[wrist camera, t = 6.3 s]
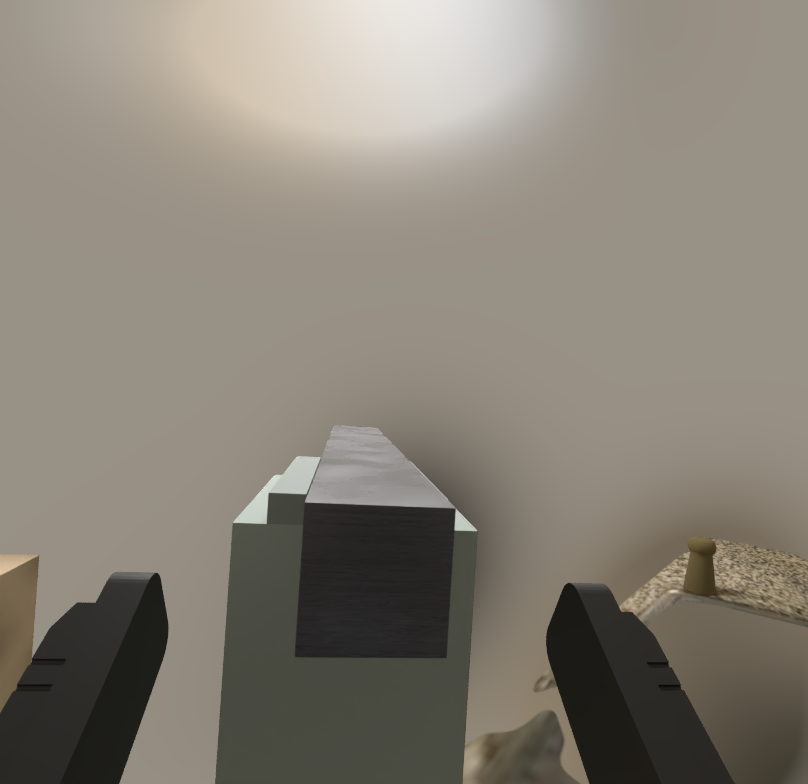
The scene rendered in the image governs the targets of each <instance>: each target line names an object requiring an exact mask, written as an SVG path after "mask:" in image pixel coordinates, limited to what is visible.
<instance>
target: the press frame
mask: <svg viewBox="0 0 808 784" xmlns="http://www.w3.org/2000/svg"><path fill="white" fill-rule="evenodd" d="M320 461H321V458H320V457H299V456H297V457H296V459H295V460H294V461H293V462H292V464H291V465H290V466H289V467H288V469H287V470H286V471H285V472H284V474H283V475H275V476H274V477H273V478H272V479H271V480H270V481H269V482H268V483H267V485H266V486H265V487H264V488H263V489H262V490H261V491H260V493H259V494H258V495H257V496H256V497H255V498H254V499H253V501H252V502H251V503H250V504H249V505H248V506H247V507H246V508H245V509H244V511H243V512H242V513H241V514H240V515H239V516H238V517H237V519H236V520H235V521H234V522H233V529H232V543H231V557H230V572H229V587H228V602H227V616H226V631H225V646H224V662H223V676H222V691H221V706H220V720H219V736H218V750H217V764H216V779H215V784H462V781H463V765H464V748H465V732H466V715H467V699H468V683H469V665H470V650H471V633H472V617H473V601H474V583H475V568H476V552H477V535H478V534H477V533H478V531H477V530H476V529H475V528H474V527H473V526H472V525H471V524H470V523H469V522H468V521H467V520H466V519H465V518H464V517H463V516H462V515H461V514H460V513H459V512H458V511H457V509H456V514H455V530H454V546H453V562H452V579H451V595H450V611H449V627H448V644H447V658H315V657H295V642H296V627H297V612H298V597H299V582H300V566H301V551H302V536H303V521H304V505H305V500H306V498H307V495H308V492H309V490H310V487H311V484H312V482H313V479H314V477H315V474H316V471H317V469H318V466H319V463H320ZM412 464H413V463H412ZM414 466H415V465H414ZM417 469H418V468H417ZM427 480H428V479H427ZM428 481H429V480H428ZM429 482H430V481H429ZM430 483H431V482H430ZM431 484H432V483H431ZM432 485H433V484H432ZM433 486H434V485H433ZM434 487H435V486H434ZM435 488H436V487H435ZM436 489H437V488H436ZM437 490H438V489H437ZM438 491H439V490H438ZM439 492H440V491H439ZM440 493H441V492H440ZM441 494H442V493H441ZM442 495H443V494H442ZM443 496H444V495H443ZM444 497H445V496H444ZM445 498H446V497H445ZM446 499H447V498H446ZM447 500H448V499H447ZM448 501H449V500H448Z"/></svg>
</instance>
